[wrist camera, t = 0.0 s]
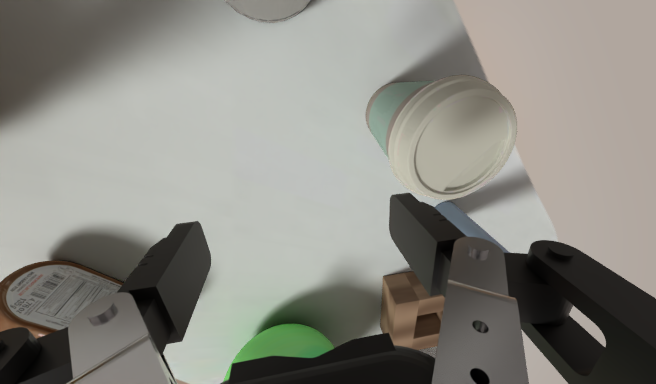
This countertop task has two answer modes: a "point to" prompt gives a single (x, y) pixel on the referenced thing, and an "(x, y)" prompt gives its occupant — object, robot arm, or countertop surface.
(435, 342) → the socket block
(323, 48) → the countertop surface
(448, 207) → the dowel
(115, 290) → the tin
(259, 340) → the green round piece
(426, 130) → the coffee cup
